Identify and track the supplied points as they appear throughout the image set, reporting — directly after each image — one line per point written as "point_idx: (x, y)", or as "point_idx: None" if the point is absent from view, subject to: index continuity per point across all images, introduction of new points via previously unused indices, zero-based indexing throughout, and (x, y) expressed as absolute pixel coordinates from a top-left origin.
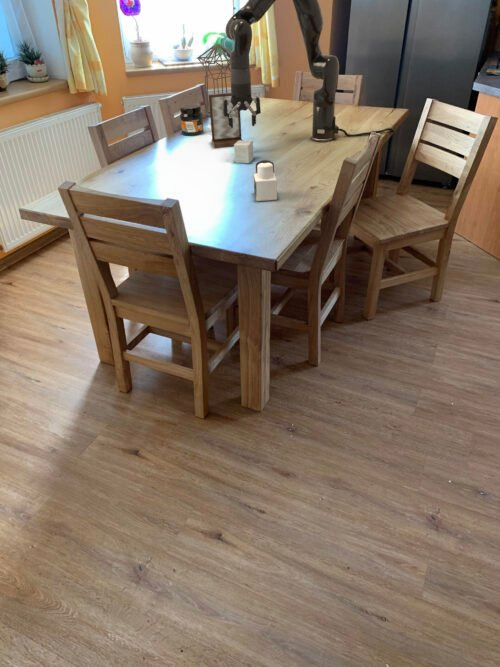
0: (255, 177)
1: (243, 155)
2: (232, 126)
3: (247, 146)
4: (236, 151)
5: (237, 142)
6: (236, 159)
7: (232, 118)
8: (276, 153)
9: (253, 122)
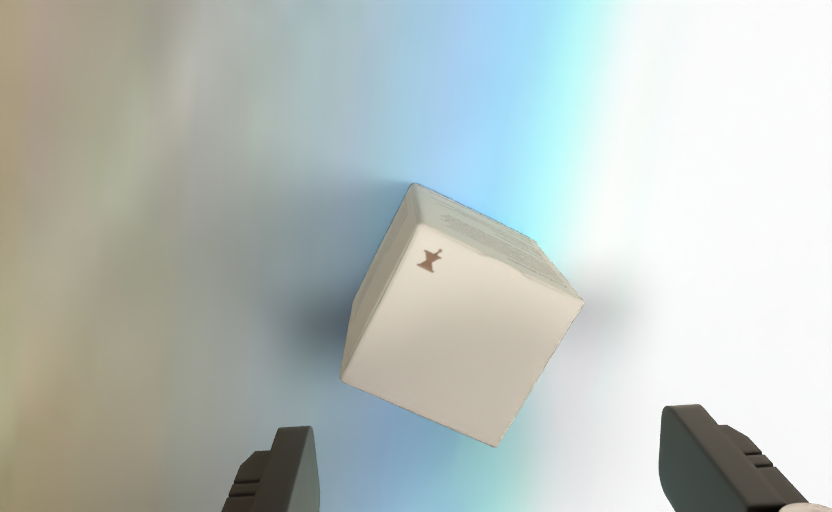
0: None
1: (467, 219)
2: (683, 411)
3: (426, 222)
4: (543, 264)
5: (530, 364)
6: (530, 242)
7: (745, 501)
8: (124, 407)
9: (287, 454)
